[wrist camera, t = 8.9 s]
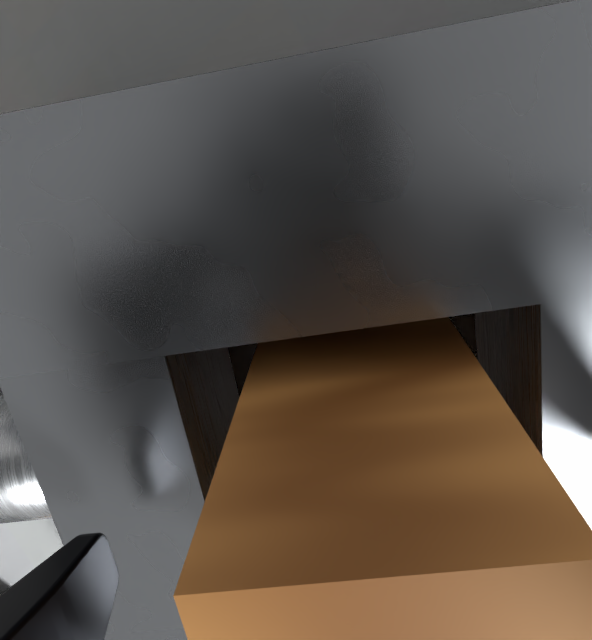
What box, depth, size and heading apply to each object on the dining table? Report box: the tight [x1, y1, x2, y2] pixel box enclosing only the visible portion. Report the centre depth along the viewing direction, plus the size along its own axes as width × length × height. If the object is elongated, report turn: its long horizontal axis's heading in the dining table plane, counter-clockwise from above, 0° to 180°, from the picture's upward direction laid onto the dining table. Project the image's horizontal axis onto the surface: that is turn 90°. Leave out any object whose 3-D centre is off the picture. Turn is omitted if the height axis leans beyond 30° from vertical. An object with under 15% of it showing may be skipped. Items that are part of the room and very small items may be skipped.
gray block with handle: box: [0, 0, 592, 640], centre depth 11 cm, size 20×14×4 cm
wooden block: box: [173, 317, 592, 640], centre depth 9 cm, size 4×4×8 cm
